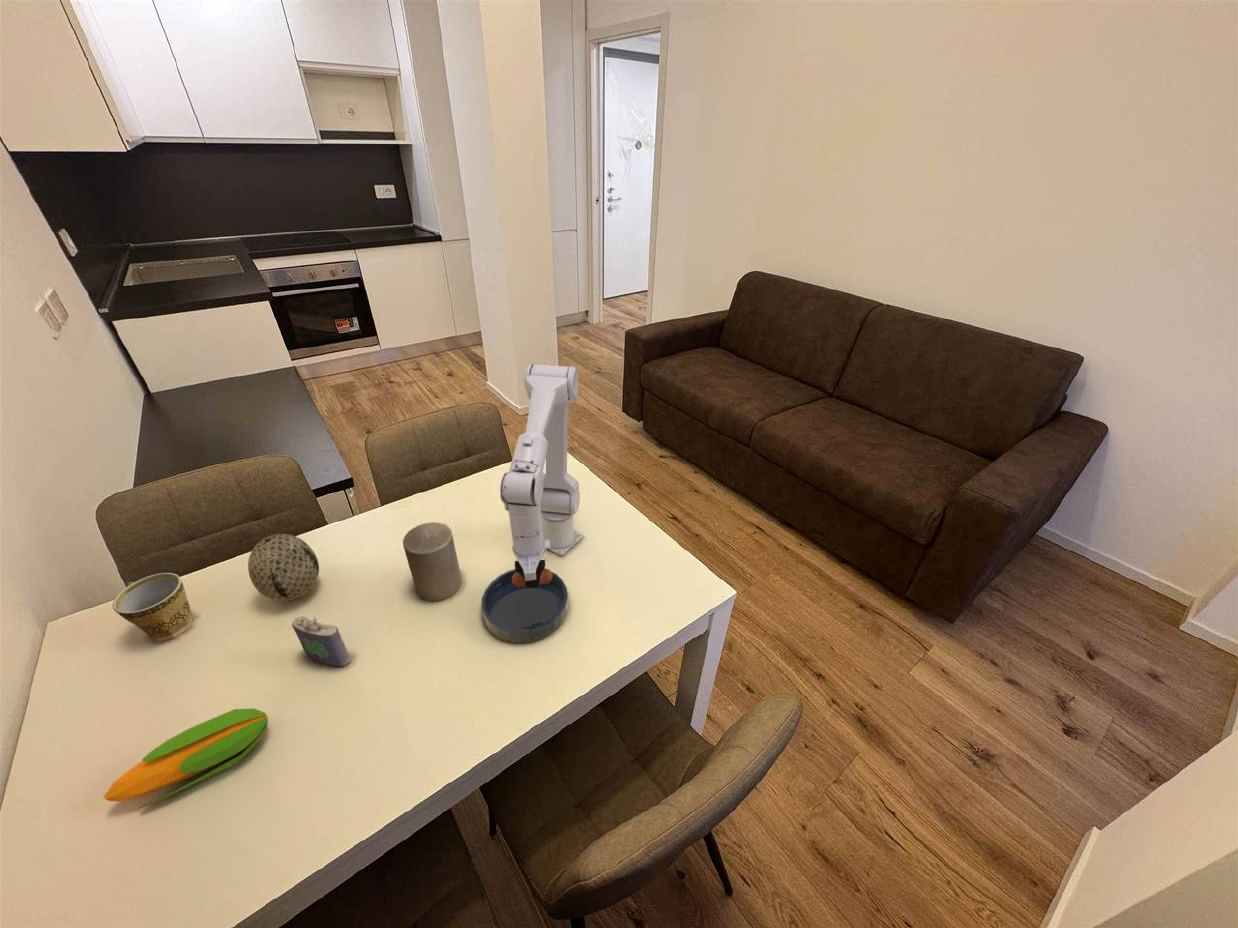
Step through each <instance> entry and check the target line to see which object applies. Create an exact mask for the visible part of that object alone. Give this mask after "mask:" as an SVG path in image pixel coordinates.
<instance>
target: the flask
mask: <svg viewBox="0 0 1238 928" xmlns="http://www.w3.org/2000/svg"><path fill="white" fill-rule="evenodd" d="M317 621H318V618H316V617H315V616H313V617H312V619H310V618H308V617H306V616H300V617H299V616H298V617H296V618H295V619H294V620H293V621H292V623H291V626H292V628H293V630H294V632H295V634H296V636H297V639H298V640H299V642H300V643H299V644H300V645H301V647H302V649H303V651H304V653H305V656H306V658H307V659H308V660H309V661H312V662H313V663H315V664H318V665H324V666H327V667H333V668H344V667H346V666H348V665H349V664H350V662H351V661H352V658H351V655H350V653H349V651H348V649H347V647H346V645H345V642H344V640H343V638H342V636H341V633H340V631H339V628H338V626H336V625H334V624H333V625H332V624H324V623H320V622H317Z"/></svg>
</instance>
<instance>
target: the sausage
mask: <svg viewBox="0 0 1238 928" xmlns="http://www.w3.org/2000/svg"><path fill="white" fill-rule="evenodd" d="M552 572H553V571H552V570H551V569H549V568H545V569H544V570H543V571H542V573H541V575H540V581H539V585H540V584H547V583H549V582H550V581H551V580H552ZM512 583H513V584H514V585H515V586H517V587H524V586H526V584H525V582H524V580H523V578H522V576H521V575H520V574H519V573H517V572H516V573H514V575H513V576H512Z"/></svg>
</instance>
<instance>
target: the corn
mask: <svg viewBox="0 0 1238 928" xmlns="http://www.w3.org/2000/svg"><path fill="white" fill-rule="evenodd" d="M268 725H269V719H268V714H267V713H266V712H264V711H261V710H259V709H257V708H234V709H232V710H229V711H226V712H225V713H222V714H219V715H218V716H215V717H213V718H210V719H208V720H206V721H203V722H201V723H198V724H196V725H193V726H192V727H189V728H187V729H186V730H184V731H182V732H180V733H177V734H176V735H175V736H172V737H170V738H169V739H167V740H165V741H164V742H162V743H161V744H160V745H158V746H157V747H155V748H154V749H153V750H151V751H150V752H149V753H147V754H146V755H145V756H144V757H143V758H142V759H141V760H142V761H140V762H138V763H137V764H135V765H134V766H133V767H131V768H130V769H129V770H128V771H127V772H125V773H124V774H122V775H121V776H120V777H118V778H117V779H116V780H115V781H114V782H113V783H112V784H111V785H110V787H109V789H108V790H107V791H106V792H105V794H104V795H103V797H102V798H103V799H105V800H106V801H109V802H117V803H118V802H122V801H126V800H130V799H135V798H139V797H142V796H145V795H147V794H150V793H153V792H155V791H158V790H161V789H163V788H167V787H169V786H172V785H174V784H177V783H180V782H182V781H185V780H187V779H189V778H192V777H194V776H196V775H197V774H200V773H201V772H204V771H206V770H208V769H211V768H212V767H214V766H216V765H219V764H220V763H222V762H224V761H227V760H228V761H227V762H224V763H223V764H221V765H219V766H218V767H216V768H215V769H214V768H213V770H211V771H209V772H207V773H206V774H204V775H202V776H200V777H198V778H196V779H194V780H192V781H190V782H189V783H187V784H184V785H183V786H181V787H179V788H177V789H175V790H173V791H171V792H169V793H167V794H165V795H163V796H161V797H159V798H156V799H154V800H151V801H149V802H147V803H145V804H142V805H141V806H138V810H139V809H141V808H144V807H147V806H149V805H151V804H154V803H156V802H160V801H161V800H164V799H166V798H168V797H171V796H172V795H175V794H176V793H179V792H181V791H184V790H186V789H187V788H189V787H192V786H194V785H195V784H197V783H200V782H202V781H204V780H206V779H207V778H210V777H212V776H214V775H216V774H218V773H220V772H222V771H224V770H226V769H229V768H230V767H232V766H234V765H236V764H237V763H239V762H240V761H241V760H242V759H243V758H244V757H245V756H246V755H247V754H249V753H250V752H251V751H252V750H253V749H254V748H255V746H256V745H257V744H258V743H259V741H260V740H261V738H262V737H263V735H264V733H265V732H266V730H267V729H268ZM242 751H243V752H242ZM239 753H241V754H239ZM238 754H239V755H238ZM237 755H238V756H237ZM235 756H236V757H235ZM233 757H234V758H233ZM230 758H232V759H230ZM229 759H230V760H229Z"/></svg>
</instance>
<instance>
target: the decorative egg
mask: <svg viewBox="0 0 1238 928" xmlns="http://www.w3.org/2000/svg"><path fill="white" fill-rule="evenodd" d="M319 563H320V562H319V560H318V557H317V554H316V553H315V551H314V550H313V548H312V547H310V545H309V544H308V543H307V542H305V541H304V540H303V539H301V538H300V537H298V536H296V535H292V534H289V533H288V534H287V533H275V534H270V535H268V536H265V537H263V538H261V540H259V541H258V542H257V543H256V544H255V546H253V548H252V550H251V552H250V554H249V556H248V561H247V569H248V570H247V571H248V575H249V580H251V583H252V585H253V586H254V589H256V591H258V593H259V594H261V595H262V596H264V597H265V598H267V599H270V600H273V601H279V602H287V601H291V600H296V599H298V598H300V597H303V596H304V595H306V594H307V593H308V592H309V591H310V590H311V589H312V588H313V587H314V586H315V584H316V582H317V580H318V578H319V574H320V564H319Z"/></svg>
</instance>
